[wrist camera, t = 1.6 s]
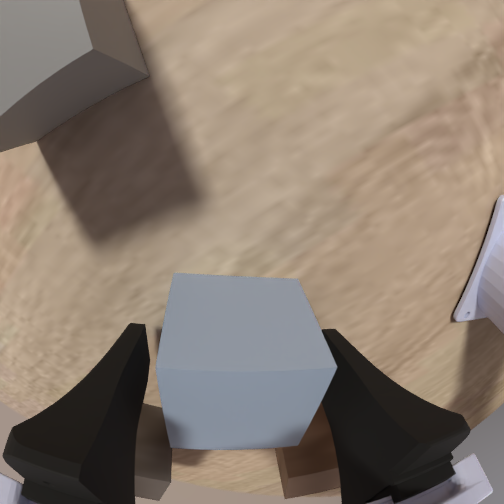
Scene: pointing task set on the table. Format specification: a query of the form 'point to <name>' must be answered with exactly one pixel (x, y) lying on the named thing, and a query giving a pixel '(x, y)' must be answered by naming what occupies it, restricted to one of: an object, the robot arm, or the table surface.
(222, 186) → the table surface
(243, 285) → the slate blue cube
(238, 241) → the table surface
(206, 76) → the table surface
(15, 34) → the grey cube
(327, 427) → the walnut cube
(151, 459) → the ebony cube
